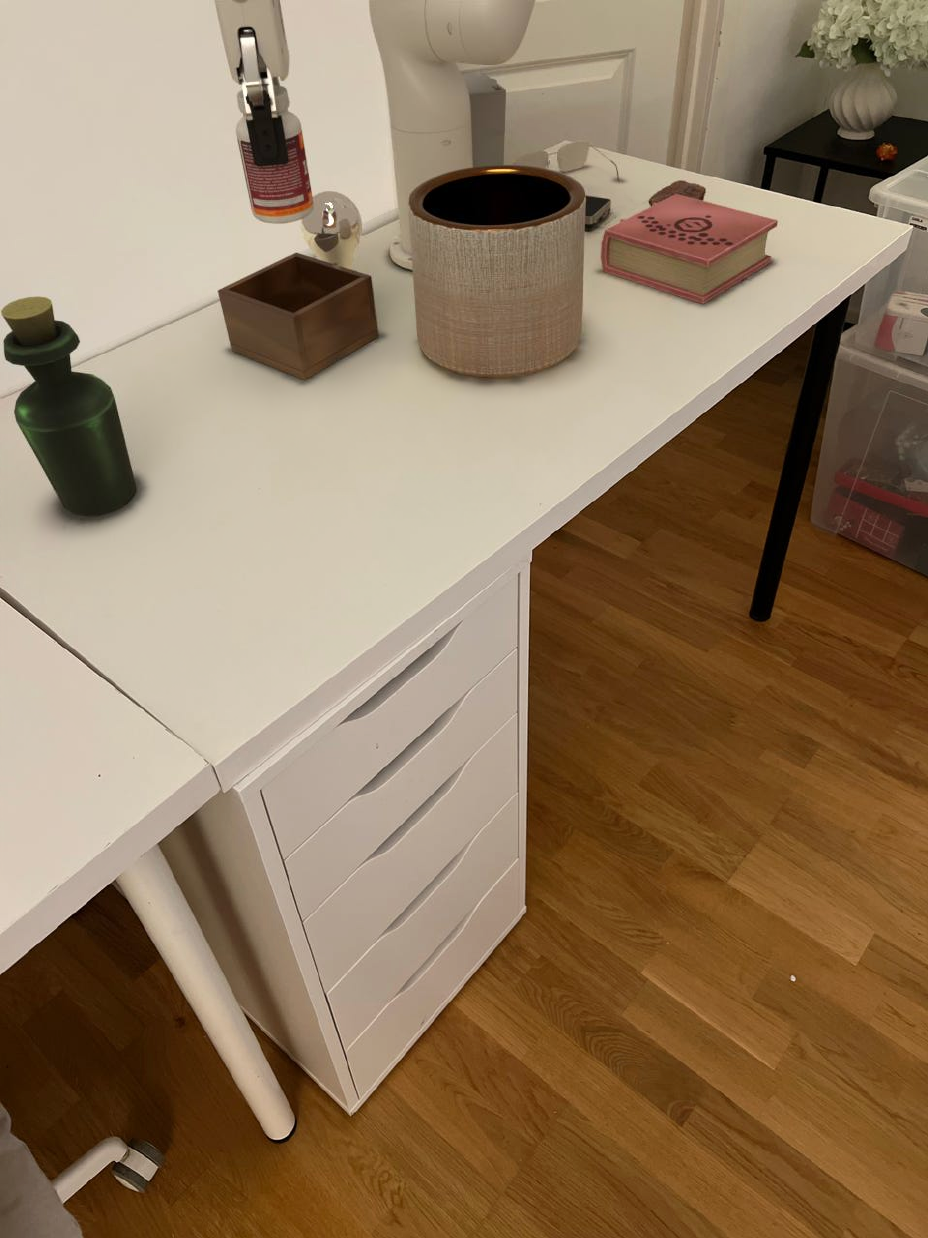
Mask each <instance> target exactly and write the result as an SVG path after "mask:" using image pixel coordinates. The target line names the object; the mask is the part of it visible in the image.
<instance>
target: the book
mask: <svg viewBox="0 0 928 1238" xmlns="http://www.w3.org/2000/svg"><path fill="white" fill-rule="evenodd" d="M619 220H620V221H619V222H618V223H616V224H614V225H612V226H610V227H608V228H606V229H604V233H603V235H602V236H603V237H602V240H601V243H600V244H601V245H600V246H601V247H600V261H601V268H602V272H605V273H608V274H610V275H614V276H616V277H620V278H623V279H625V280H629V281H632V282H635V283H637V284H641V285H643V286H647V287H650V288H652V289H655V290H659V291H662V292H665V293H668V294H671V295H675V296H678V297H680V298H684V299H686V300H689V301H692V302H695V303H698V304H701V305H704V304H706V303H707V302H709V301H711V300H712V299H714V298H715V297H717V296H718V295H720V294H722V293H724V292H725V291H727V290H728V289H730V288H731V287H733V286H735V285H737V284H738V283H739V282H741V281H744V279H746V278H747V277H749V276H751V275H752V274H754V273H756V272H758V271H759V270H760V269H762V268H763V267H766V266H767V265H769V264H770V263H771V262H772V257H773V256H771V255H768V254H766V245H767V240H768V234H769V232H770V231H772V230H774V229H775V228H778V223H779V220H778V219H774V218H771V217H767V216H763V215H758V214H754V213H751V212H748V211H744V210H739V209H736V208H732V207H728V206H725V205H720V204H716V203H712V202H710V201H706V200H703V201H702V200H698V199H694V198H690V197H686V196H682V195H678V194H675V195H673V196H671V197H669V198H667V199H665V200H663V201H661V202H659V203H653V204H652V206H649V207H647V208H646V209H643V210H641V211H640V212H637V213H636V214H633V215H631V216H630V217H627V218H626V219H625V218H621V219H619Z"/></svg>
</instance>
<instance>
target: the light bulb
mask: <svg viewBox="0 0 928 1238" xmlns="http://www.w3.org/2000/svg"><path fill="white" fill-rule="evenodd" d="M312 197H313V204H314V208H313V211H312V212H311V213H310V214H309V215H308V216H306V217H305V218H303V219H300V229H301V234H302V237H303V239H304V241H305V243H306V244H307V246H308V247H309V249H310V250H311V251H312V252H313V254H314V255H315V256H316V258H317V259H319V260H322V261H325V262H328V263H332V264H335V265H338V266H341V267H344V268H348V269H351V270H353V268H354V260H355V252H356V250H357V248H358V245H359V243H360V240H361V238H362V232H363V221H362V215H361V214H360V211H359V209H358V208H357V206H356V204H355V203H354V202H353V201H352V200H351V199H350V198H349V197H348V196H347V195H344V194H343V193H341V192H338V191H334V190H327V191H322V192H318V193H316V194H315V195H312Z"/></svg>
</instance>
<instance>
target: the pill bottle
mask: <svg viewBox="0 0 928 1238" xmlns="http://www.w3.org/2000/svg"><path fill="white" fill-rule="evenodd" d="M274 89H275V96H276V103H277V110H278V116H280V115H282V121H283V127H284V133H285V139H286V145H287V151H288V156H289V161H288V163H287V164H282V165H272V166H261V167H258V166H256V165H255V164H254V160H253V155H252V149H251V144H250V139H249V134H248V129H247V124H246V119H247V116H246V110H245V103H244V97H243V91H242V89H241V90H239V91H238V92H237V93H236V101H237V108H238V110H239V112H240V113H241V114H242V117H241V118H239V120H238V122H237V123H236V125H235V134H236V140H237V146H238V149H239V154H240V159H241V164H242V169H243V175H244V179H245V185H246V188H247V193H248V194H247V195H248V198H249V203H250V209H251V212H252V215H253V216H254V218H255V219H256V220H258V221H259V222H262V223H267V224H273V225H281V224H283V225H284V224H290V223H294V222H297V221H301V219H303V218H305V217H306V216H308V215H309V214H310V213H311V212H312V211H313V208H314V204H313V191H312V186H311V179H310V173H309V166H308V160H307V155H306V154H307V153H306V149H305V141H304V135H303V128H302V123H301V121H300V119H299V117H298V116H297V115H295V114H294V113H293V112H291V111H289V107H290V98H289V93H288V89H287V88H286V87H285V86H283V85H280V86H278V85H274ZM263 90H266V92H267V94H268V88H263ZM269 103H270V102H269Z"/></svg>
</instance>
